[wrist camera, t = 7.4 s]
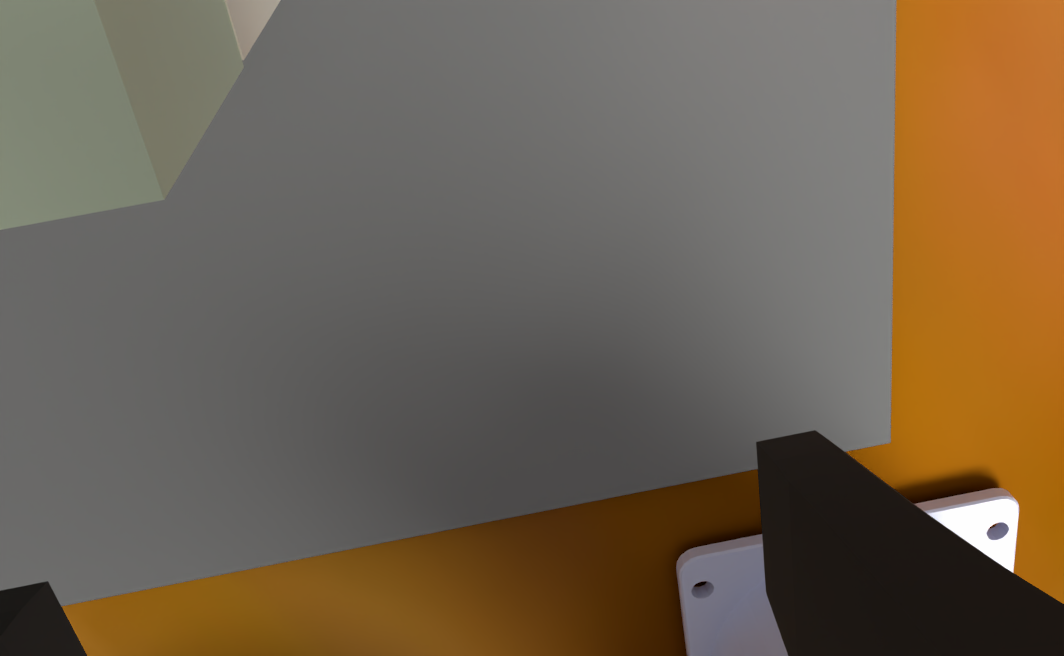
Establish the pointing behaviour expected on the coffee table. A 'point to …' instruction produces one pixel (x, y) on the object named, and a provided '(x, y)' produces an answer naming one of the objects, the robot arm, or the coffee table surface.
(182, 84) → the sage brick
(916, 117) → the coffee table surface
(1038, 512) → the coffee table surface
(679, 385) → the mat
